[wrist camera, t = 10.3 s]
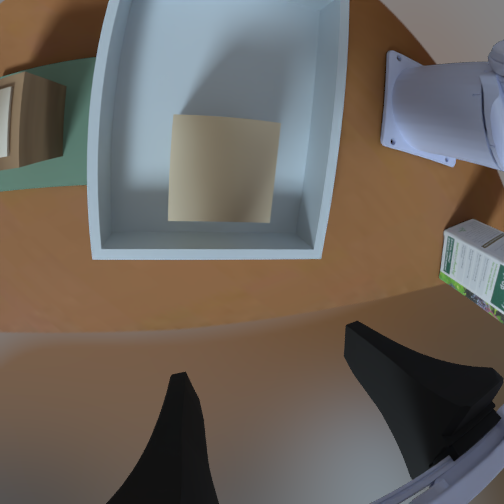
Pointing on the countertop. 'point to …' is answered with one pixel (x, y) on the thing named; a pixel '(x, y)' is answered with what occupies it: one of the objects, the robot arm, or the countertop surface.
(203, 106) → the bin
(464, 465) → the robot arm
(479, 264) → the syrup box
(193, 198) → the birch block
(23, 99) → the brown wooden block
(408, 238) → the countertop surface
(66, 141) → the mat
